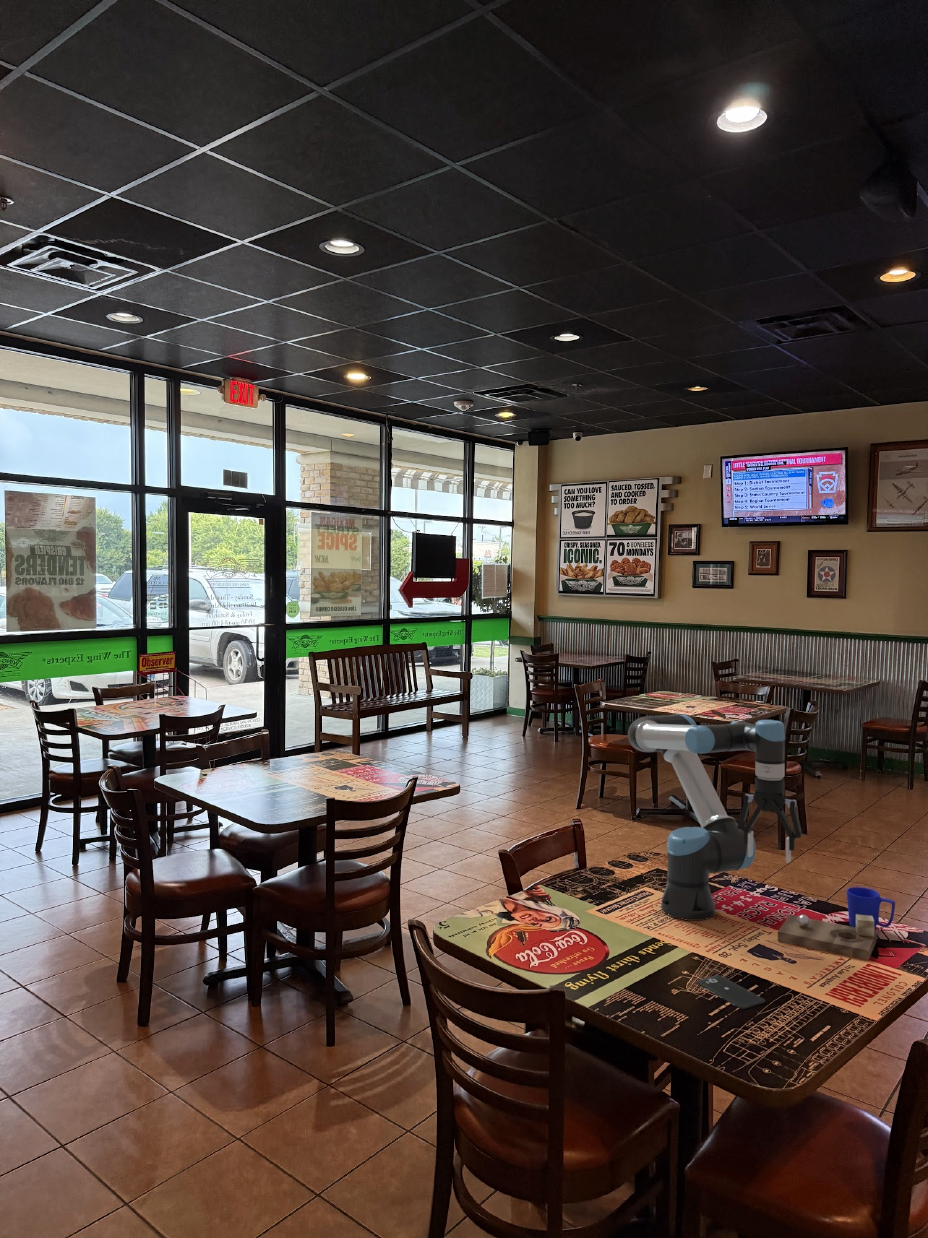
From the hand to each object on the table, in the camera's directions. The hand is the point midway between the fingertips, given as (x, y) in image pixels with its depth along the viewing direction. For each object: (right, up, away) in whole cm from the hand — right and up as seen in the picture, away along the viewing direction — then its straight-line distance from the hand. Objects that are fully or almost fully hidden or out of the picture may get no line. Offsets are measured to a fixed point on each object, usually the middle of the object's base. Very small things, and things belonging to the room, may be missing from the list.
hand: (769, 858), depth 233 cm
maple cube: (+22, -17, -9) cm, 29 cm away
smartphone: (-22, -22, -36) cm, 47 cm away
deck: (+13, -20, -8) cm, 25 cm away
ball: (+8, -16, -4) cm, 18 cm away
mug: (+28, -20, 0) cm, 34 cm away
